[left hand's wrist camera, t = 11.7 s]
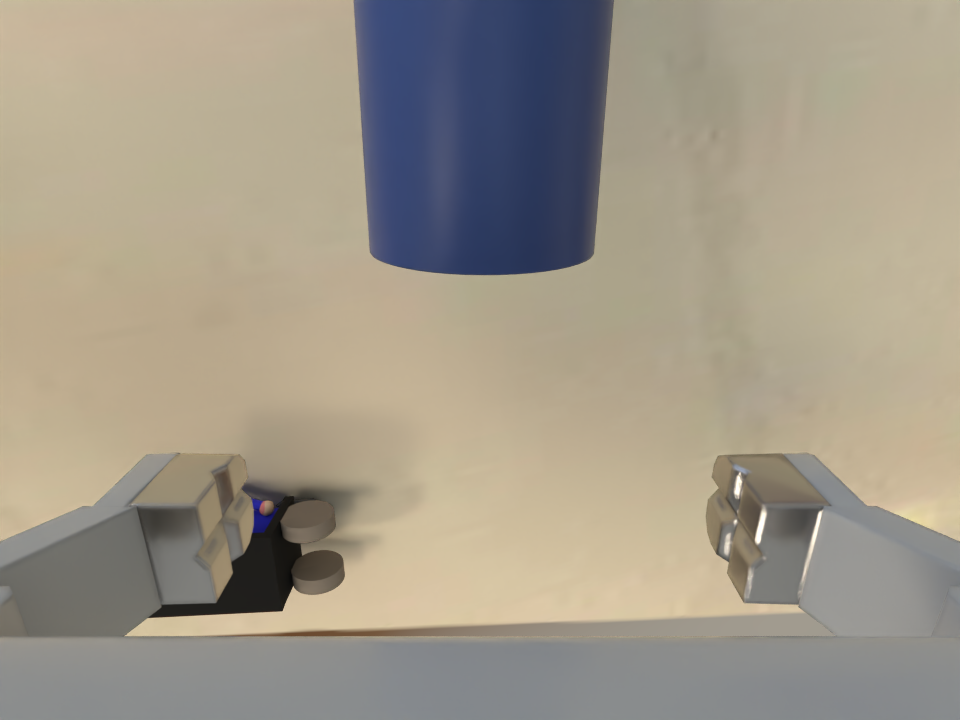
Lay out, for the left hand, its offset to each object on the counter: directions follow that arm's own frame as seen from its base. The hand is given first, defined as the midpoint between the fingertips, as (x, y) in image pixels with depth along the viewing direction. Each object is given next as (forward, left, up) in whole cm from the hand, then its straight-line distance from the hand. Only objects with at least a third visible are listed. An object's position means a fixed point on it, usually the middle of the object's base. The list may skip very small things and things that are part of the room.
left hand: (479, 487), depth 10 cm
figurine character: (-25, +11, -29) cm, 40 cm away
